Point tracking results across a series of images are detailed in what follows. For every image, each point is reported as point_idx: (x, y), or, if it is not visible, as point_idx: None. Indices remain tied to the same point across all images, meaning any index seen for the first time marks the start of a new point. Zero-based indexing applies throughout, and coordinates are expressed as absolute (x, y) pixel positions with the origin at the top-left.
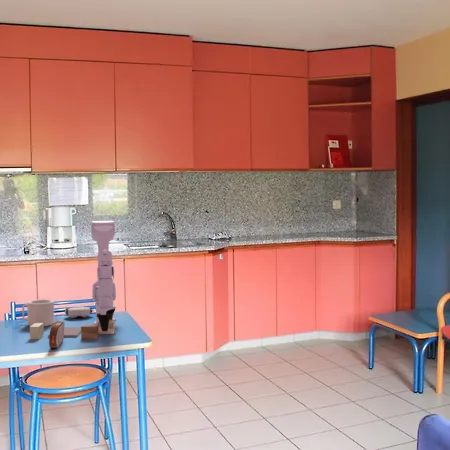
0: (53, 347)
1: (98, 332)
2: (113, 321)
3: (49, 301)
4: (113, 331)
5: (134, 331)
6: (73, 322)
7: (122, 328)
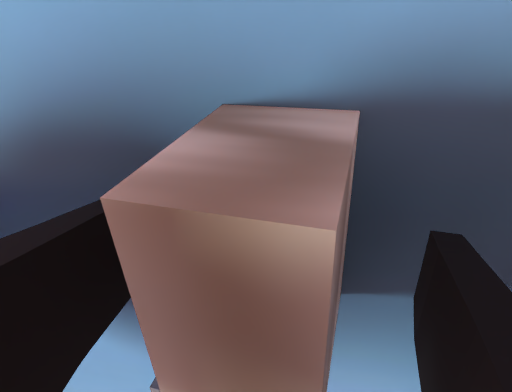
0: None
1: None
2: (271, 216)
3: None
4: (334, 121)
5: None
6: None
7: (34, 9)
